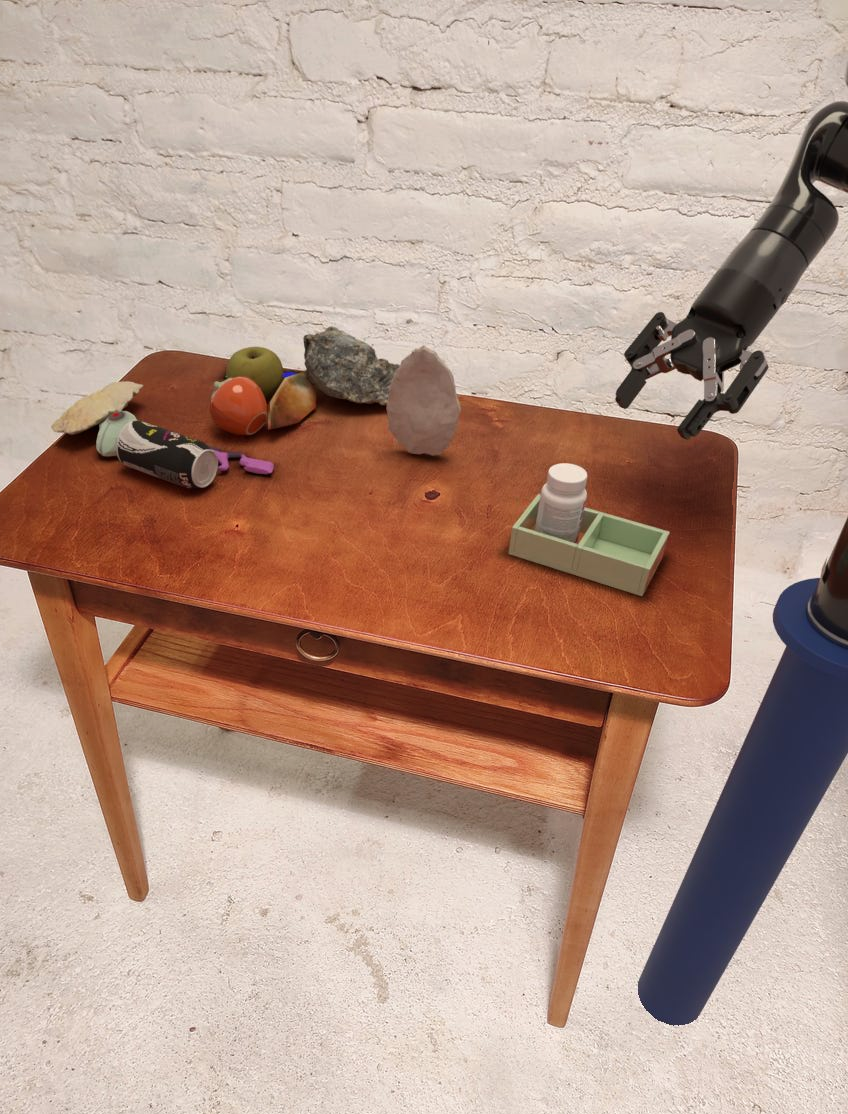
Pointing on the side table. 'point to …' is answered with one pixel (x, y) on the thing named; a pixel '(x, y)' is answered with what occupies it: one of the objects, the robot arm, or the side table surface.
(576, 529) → the pill bottle
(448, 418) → the stone tool
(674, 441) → the side table surface
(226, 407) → the tomato
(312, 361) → the rock
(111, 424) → the robot head
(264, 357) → the apple
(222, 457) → the pink plastic clamp
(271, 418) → the decorative stone
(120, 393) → the stone tool
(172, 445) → the beverage can
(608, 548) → the divided tray
